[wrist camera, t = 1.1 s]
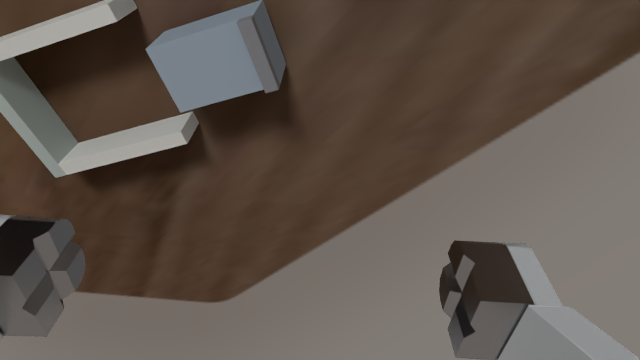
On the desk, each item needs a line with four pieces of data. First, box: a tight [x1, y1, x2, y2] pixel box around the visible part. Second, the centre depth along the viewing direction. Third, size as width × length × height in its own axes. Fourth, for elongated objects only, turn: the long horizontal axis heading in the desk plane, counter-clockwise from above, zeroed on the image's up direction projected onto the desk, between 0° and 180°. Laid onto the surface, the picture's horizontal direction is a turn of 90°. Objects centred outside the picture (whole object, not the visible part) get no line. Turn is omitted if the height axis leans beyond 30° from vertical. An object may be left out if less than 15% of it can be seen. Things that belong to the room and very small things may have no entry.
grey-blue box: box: [146, 0, 286, 113], centre depth 30 cm, size 8×5×6 cm, turn 107°
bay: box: [0, 0, 199, 178], centre depth 34 cm, size 13×11×4 cm
